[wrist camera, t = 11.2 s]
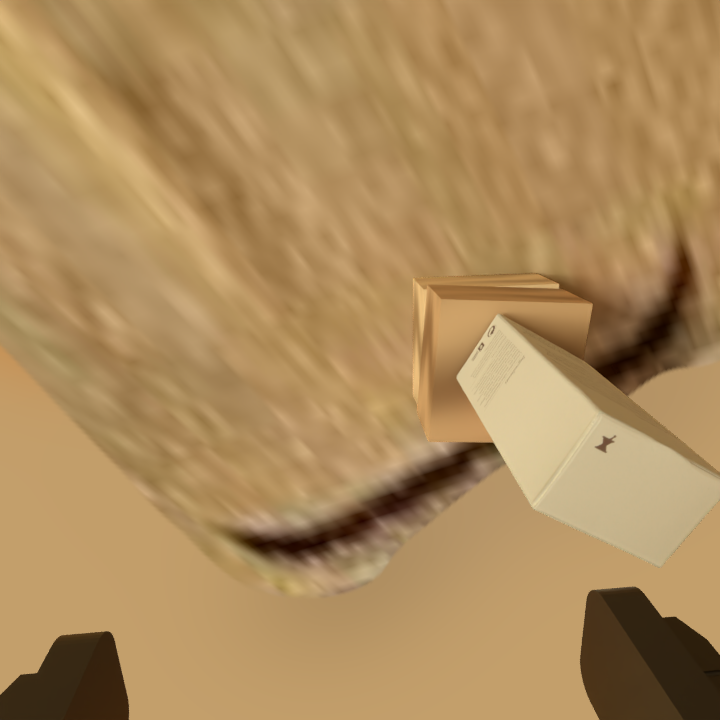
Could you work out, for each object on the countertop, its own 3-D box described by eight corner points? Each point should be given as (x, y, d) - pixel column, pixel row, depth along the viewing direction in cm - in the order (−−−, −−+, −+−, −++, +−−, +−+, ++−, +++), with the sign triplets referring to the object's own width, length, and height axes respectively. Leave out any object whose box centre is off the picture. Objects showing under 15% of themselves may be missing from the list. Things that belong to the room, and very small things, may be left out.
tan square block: (427, 284, 33) (441, 299, 29) (562, 288, 34) (593, 303, 30) (416, 412, 36) (428, 441, 32) (542, 414, 36) (568, 443, 32)
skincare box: (452, 378, 31) (525, 508, 20) (496, 310, 30) (601, 406, 18) (543, 426, 32) (662, 574, 21) (589, 362, 31) (741, 483, 20)
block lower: (412, 277, 37) (423, 289, 33) (534, 272, 38) (559, 283, 34) (412, 393, 40) (422, 417, 36) (526, 387, 40) (548, 410, 36)
